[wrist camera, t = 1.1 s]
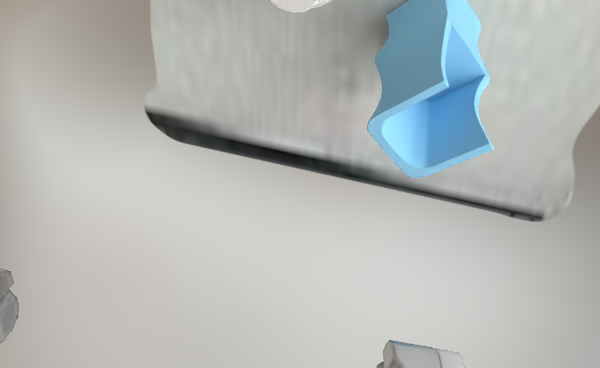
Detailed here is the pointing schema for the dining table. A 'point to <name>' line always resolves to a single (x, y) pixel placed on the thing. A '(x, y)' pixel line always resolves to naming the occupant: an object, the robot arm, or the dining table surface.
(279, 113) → the dining table surface
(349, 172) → the dining table surface
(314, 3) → the pill bottle
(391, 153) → the vase
